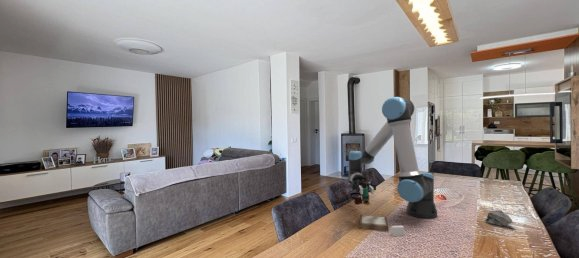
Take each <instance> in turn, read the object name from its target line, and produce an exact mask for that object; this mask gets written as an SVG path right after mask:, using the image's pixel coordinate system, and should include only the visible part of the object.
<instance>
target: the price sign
mask: <svg viewBox="0 0 579 258" xmlns="http://www.w3.org/2000/svg"><path fill="white" fill-rule="evenodd" d="M390 227H391V228H390V230H391V231H390V234H391V237H404V236H405V226H403V225H391V226H390Z"/></svg>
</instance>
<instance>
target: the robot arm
mask: <svg viewBox="0 0 579 258" xmlns="http://www.w3.org/2000/svg"><path fill="white" fill-rule="evenodd" d="M381 113H382V115H383V116H384V118H386V122H385V123H384V125H382V127H381V128H380V129H379V131H378V132H377V133H376V135H375V136H374V137H373V138H372V139H371V141H370V142H369V143H368V145H367V146H366V147H365V149H363V151H360V150H350V151H349V152H348V173H347V174H348V175H347V176H348V183H347V184H348V185H347V186H349V187H350V188H351V190H353V191H356V192H355V193H359V192H360V195H361V194H363V188H362V187H361V185H362V182H361V181H366V183H367V187H368V190H370V192H369V193H370V194H371V195H374V194H375V191H376V190H377V185H376V184H375V182H374V180H370V181H368V180H367V179H366V177H365V176H364V175H363V166H364V165H365V166H366V165H370V164H371V163H373V162H374V161H375V157H376V156H377V155H378V153H379V152H380V151H381V150H382V149H383V148H384V147H385V145H386V144H387V143H388V141H389V140H390V139H391V138H392V137H393V141H394V147H395V151H396V157H397V161H398V165H399V171H400V172H399V173H398V174H397V177H398V184H397V187H396V189H397V194H398V195H399V197H400V198H401V199H403V200H404V201H406V202H408V203H407V206H406V213H407V214H408V215H410V216H412V217H415V218H420V219H435V218H437V217H438V210H437V207H436V204H435V200H434V198H435V197H434V196H435V195H434V193H435V192H434V191H435V190H434V189H435V187H434V186H435V184H434V183H435V178H434V174H433V173H432V172H431V173H429V172H424V171H423V172H422V171H421V170H419V166H418V162H417V157H416V152H415V146H414V143H413V136H412V131H411V129H410V128H411V127H410V123H411V122H412V116H413V114H414V113H415V105H414V103H413V102H412V100H410V99H408V98H405V97H400V96H393V97H392V96H391V97H389V98H387V99H386V100H385V101H384V103H383V104H382V106H381Z"/></svg>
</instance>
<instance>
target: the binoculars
mask: <svg viewBox="0 0 579 258" xmlns="http://www.w3.org/2000/svg"><path fill="white" fill-rule="evenodd" d="M366 181H367V180H366ZM366 181H361V182H362V185H361V187H362V188H363V194H361V193H360V192H351V193H350V194H349V197H350V199H351V200H352V199H353V201H354V205H361V204H363V205H366V206H370V205H371V203H370V193H371V192H370V190H369V189H368V187H367V183H366ZM354 195H355V196H354ZM356 195H358V196H356Z"/></svg>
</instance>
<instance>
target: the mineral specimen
mask: <svg viewBox="0 0 579 258" xmlns="http://www.w3.org/2000/svg"><path fill="white" fill-rule="evenodd" d="M484 222H485V223H487V224H491V225H496V226H499V225H500V226H499V227H502V226H507V227H508V226H509V225H511V224H513V223H514V222H513V219H512V218H511V217H510V216H509V214H507V213H504V212H503V211H502V210H500V209H495V210H489V212H488V213H487V215H486V218H485V219H484Z"/></svg>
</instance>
